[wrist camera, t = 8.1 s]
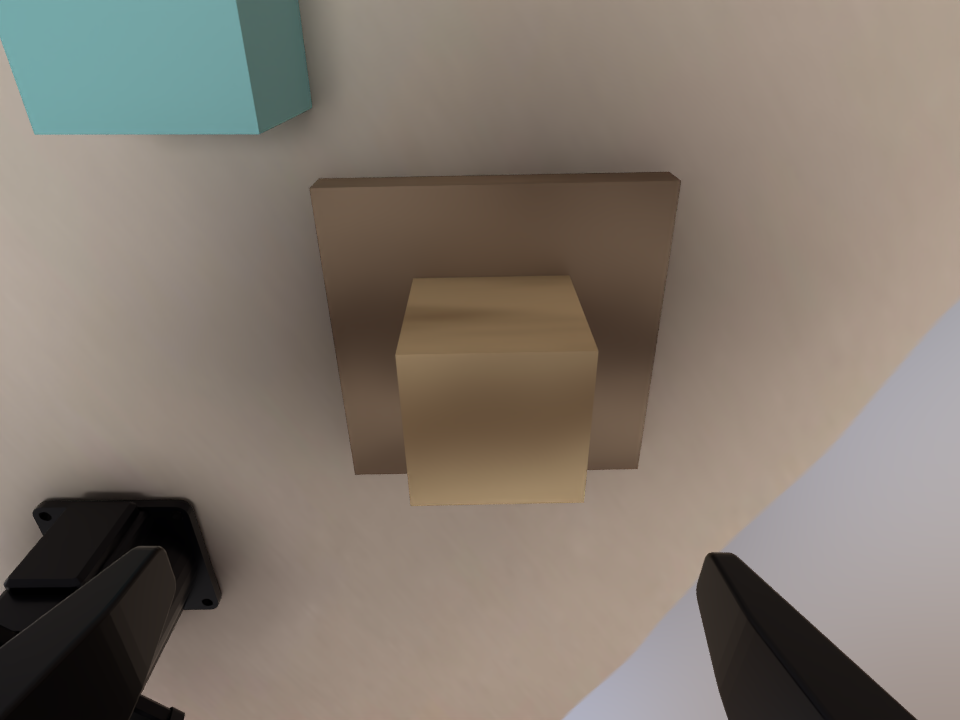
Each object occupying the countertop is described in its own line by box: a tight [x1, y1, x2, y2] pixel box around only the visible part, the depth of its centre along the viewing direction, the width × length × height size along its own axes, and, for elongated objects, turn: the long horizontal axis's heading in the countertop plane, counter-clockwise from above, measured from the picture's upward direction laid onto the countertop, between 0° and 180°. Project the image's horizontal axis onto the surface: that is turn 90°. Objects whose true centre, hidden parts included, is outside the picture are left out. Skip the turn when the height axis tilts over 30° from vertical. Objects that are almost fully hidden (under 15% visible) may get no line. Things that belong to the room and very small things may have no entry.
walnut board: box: [309, 172, 681, 475], centre depth 21 cm, size 11×11×2 cm
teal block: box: [0, 0, 312, 134], centre depth 14 cm, size 5×5×5 cm
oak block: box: [395, 275, 598, 506], centre depth 18 cm, size 5×5×5 cm
